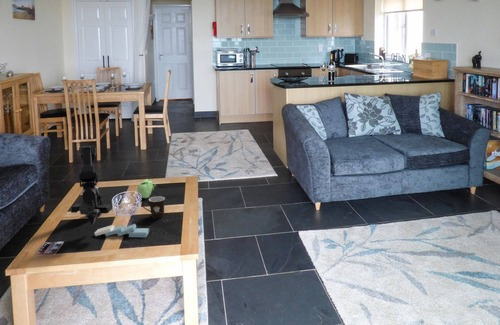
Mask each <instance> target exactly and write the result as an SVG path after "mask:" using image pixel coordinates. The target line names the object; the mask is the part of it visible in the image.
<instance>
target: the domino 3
mask: <svg viewBox="0 0 500 325" xmlns="http://www.w3.org/2000/svg"><path fill="white" fill-rule="evenodd" d="M124 227H125V226H124ZM135 228H137V225H136V223H133V224H131V225H128V226H126V227H125V228H124V229H123V231H122V232H119V233H116V234H117V237H121V236H123V235H126V234H129V232H131V231H133V230H135Z"/></svg>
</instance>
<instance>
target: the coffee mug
mask: <svg viewBox="0 0 500 325" xmlns="http://www.w3.org/2000/svg"><path fill="white" fill-rule="evenodd" d="M165 200H166V198H165V197H164V196H151V197H148V201H144V202H142V204H141V206H142V208H143V209H145V210H146V211H148V212H150V213H151V217H152V219H162V218H164V216H165V215H164V214H165ZM145 203H147V204H148V205H149V209H148V208H146V207H145V206H144V204H145Z"/></svg>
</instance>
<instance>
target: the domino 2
mask: <svg viewBox="0 0 500 325" xmlns="http://www.w3.org/2000/svg"><path fill="white" fill-rule="evenodd" d="M114 227H115V228H114V229H113V230H112V231H111V232H108V233H105V234H104V235H105V237H108V236H112V235H116V234H117V233H119V232H122V231H123V229H124V228H125V225H124V224H123V225H118V226H114Z"/></svg>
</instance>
